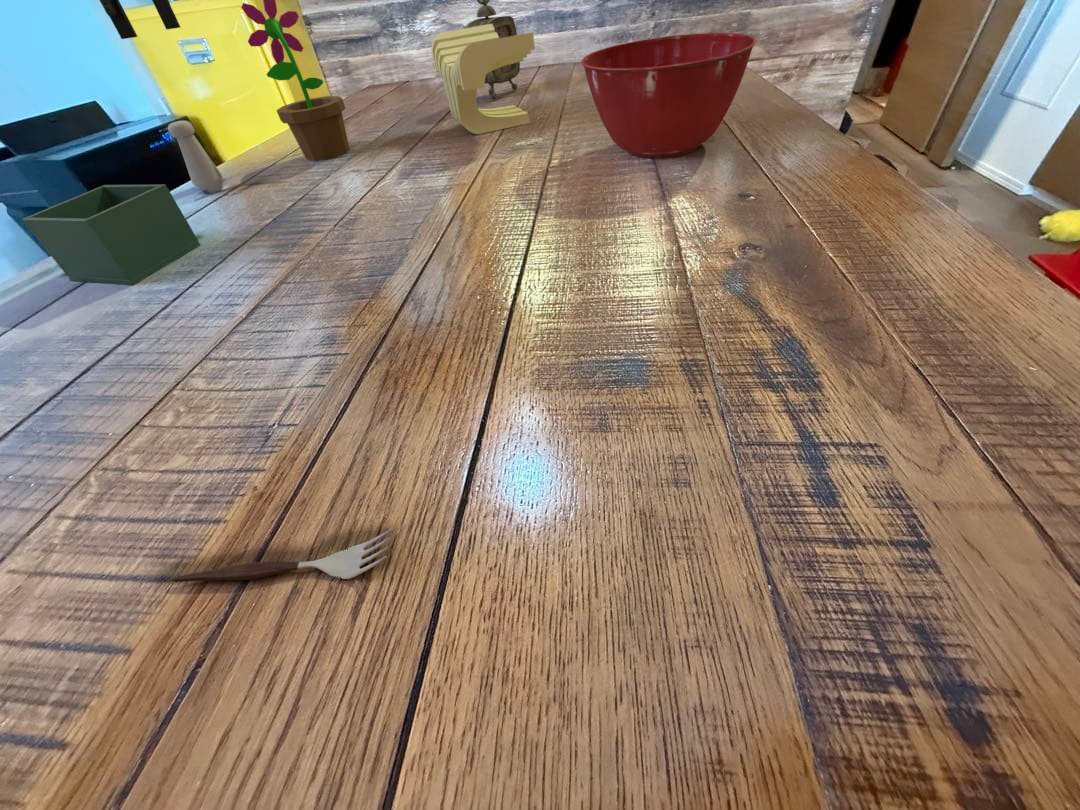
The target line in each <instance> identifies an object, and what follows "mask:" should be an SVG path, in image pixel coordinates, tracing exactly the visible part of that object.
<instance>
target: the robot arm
mask: <svg viewBox="0 0 1080 810" xmlns="http://www.w3.org/2000/svg"><path fill="white" fill-rule="evenodd" d="M151 1H152V3H153V5H154V7H155V9H156V11H157V13H158V16H159V17H160V19H161V21H162V24H163V26H164V28H165V30H167V31H168V30H173V29H179V28H181V25H180V23H179V20H178V18H177V17H176V14H175V12H174V10H173V8H172V5H171V3H170V0H151ZM99 2H100V3H101V6H102V8H103V10H104V11H105V13H106V14H107V16H108V17H109V18H110V20H111V22H112V24H113V26H114V28H115V30H116V31H117V33H118V35H119V37H120V39H121V40H125V39H126V40H127V39H134V38H138V34H137V33H136V31H135V29H134V27H133V25H132V23H131V21H130V19H129V17H128V15H127V14H126V11H125V10H124V8H123V6H122V4H121V2H120V0H99Z"/></svg>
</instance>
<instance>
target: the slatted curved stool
mask: <svg viewBox="0 0 1080 810" xmlns="http://www.w3.org/2000/svg"><path fill="white" fill-rule="evenodd" d="M534 37H535V36H534V31H531V32H527V33H520V34H517V35H515V36H510V37H504V38H499V36H498V34H497V32H495V29H494V27H493V25H492V24H487V25H482V26H476V27H471V28H465V29H464V28H460V29H454V30H449V31H443V32H441V33H438V34H437V35H436V36H435V37H434V38H433V40H432V43H431V47H430V48H431V50H430V53H431V57H432V62H433V66H434V71H435V73H439V75H440V77H441V80H443V86H444V89H445V93H446V97H447V101H448V106H449V111H450V113H451V115H452V117H453V118H454V119H455V121H456V122H458V123H459V124H460V125H461V126H462V127H463V128H464V129H465V130H467V131H468V132H470V133H472V134H475V135H482V134H486V133H492V132H496V131H500V130H506V129H509V128H514V127H518V126H523V125H528V124H531V120H530V115H529V113H528V111H525V110H523V109H522V108H520V107H518V106H517V105H515V104H512V105H511V104H510V105H507V106H500V107H491V108H479V107H478V104H477V93H478V89H482V88H485V84H486V83H485V77H486V74H487V73H489V72H491V71H493V70H495V69H497V68H500V67H503V66H506V65H509V64H513V63H517V62H520V63H521V62H524V59H526V58H528V55H530V54H532V51H533V50H536V46H535V38H534Z"/></svg>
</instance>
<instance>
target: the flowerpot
mask: <svg viewBox="0 0 1080 810" xmlns="http://www.w3.org/2000/svg"><path fill="white" fill-rule="evenodd" d="M262 3H263V9H264V11H265V13H266V15H267V16H268V18H266V16H265V15H264V14H263V11H261V10H260V9H258V8H257V7H256V6H254V5H253V4H250V3H249V4H248V3H245V2H242V5H241V9H242V10H243V12H244V13H245V15H246V16H247V18H249V19H250V20H251V21H253V22H254V23H255V24H257V25H263V26H264V29H256V30H255V31H253V32H252V33H250V35H249V37H248V40H247V43H248V44H249V46H250V47H262V46H263V45H265V44H266V43H268V40H269V38H271V39H272V40H271V43H270V50H271V56H272V58H273V60H274V61H275V63H276V64H273V65H272V66H271V67H270V69H269V70H268V71H267V73H266V76H267V77H268V78H270V79H272V80H273V79H274V80H277V81H289V80H291V79H292V78H293V77H294V76H296V78H297V80H298V83H299V85H300V88H301V91H302V94H303V96H304V99H302V100H297V101H294V102H291V103H288V104H285V105H282V106H281V107H278V108H277V109H276V114H277V115H278V118H279V121H280V122H281V123H282V124H287V126H288V128H289V130H290V131H291V133H292V135H293V137H294V139H295V141H296V143H297V145H298V147H299V149H300V150H301V152H302V154H303V156H304V158H305V159H306V160H307V161H312V162H317V161H325V160H330V159H334V158H338V157H341V156H343V155H344V154H347V153H348V152H349V150H350V144H349V139H348V135H347V131H346V126H345V121H344V117H343V112H344V110H346V109H347V108H346V105H345V103H344V99H343V97H341V96H339V95H326V96H325V95H324V96H320V97H319V96H318V97H312V98H311V97H310V95H309V92H308V90H312V91H313V90H316V89H319V88H321V86H323V84H324V80H323V79H321V78H318V77H307V78H305V79H303V76H302V73H301V71H300V69H299V66H298V64H297V60H296V59H295V57H294V55H293V52H292V51H295V52H300V53H302V52H303V50H304V46H303V45H302V44H301V42H300V40H299V39H298V38H296V37H295V36H294V35H293V34H291V33H289V32H288V33H286V32H284V29H283V28H285V29H289V28H291V27H293V26H294V25H296V24H297V22H298V19H299V17H300V16H299V14H298V12H297V11H294V10H293V11H292V10H288V11H286V12H284V13H283V14H281V15H280V16H279V20H277V18H276V16H277V13H278V9H277V2H276V0H262ZM284 50H285V51H284ZM285 52H286V54H287V57H288V59H289V61H290V62H288V61H284V59H285Z"/></svg>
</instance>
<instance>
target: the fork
mask: <svg viewBox="0 0 1080 810" xmlns="http://www.w3.org/2000/svg"><path fill="white" fill-rule="evenodd" d="M392 531H393V528H389V529H387V530H386V531H385V532H383V533H381V534H379V535H378V536H376V537H374V538H372V539H370V540H368V541H365V542H362V543H360V544H356V545H353V546H351V548H350V547H347V548H348V550H347V548H345V549H346V550H345V549H342V550H339V551H337V552H334V553H332V554H330V555H328V556H325V557H322V558H320V559H316V560H310V561H256V562H255V561H254V562H246V563H240V564H235V565H231V566H225V567H221V568H215V569H211V570H210V569H209V570H204V571H199V572H193V573H188V574H184V575H179V576H175V577H172V578H171V582H205V581H206V582H207V581H210V582H211V581H248V580H255V579H261V578H266V577H271V576H275V575H279V574H284V573H288V572H293V571H298V570H303V569H309V568H314V569H317V570H319V571H322V572H324V573H325V574H327V575H328V576H330V577H332V576H334V577H335V576H336V577H337V576H339V577H340V576H341V578H343V579H347V580H351V579H353V578H355V577H358V576H359V575H362V574H363V573H365V572H367V571H369V570H370V569H372V568H374V567H375V566H377V565H378V564H381V562H383V561H385V560H386V559H387V558H388V556H387V555H385V556H383V557H381V558H380V559H378V560H376V561H374V562H372V563H370V564H368V565H366V566H364V565H365V564H366V563H368V562H370V561H372V560H374V559H375V558H377V557H378V556H380V555H381V554H383V553H385V552H386V551H387V550H389V549H390V548H389V547H388V546H385V547H384V548H382V549H380V550H379V551H377V552H376V553H373V554H372V555H370V556H368V557H365V556H367V555H369V554H370V553H372V552H374V551H375V550H376V549H379V548H380V547H381V546H383V545H384V544H387V543H388V542H389V541H390V540H391V537H387V538H386V539H384V540H382V541H380V542H379V543H377V544H375V545H373V544H374V543H375V542H377V541H379V540H381V539H382V538H384V537H385V536H386V535H388V534H390V533H391V532H392ZM370 545H373V546H372V547H369V546H370ZM367 547H369V548H367ZM343 550H344V551H343ZM364 557H365V558H364ZM362 566H364V567H362ZM361 567H362V568H361ZM334 577H333V578H334ZM339 577H338V578H339Z"/></svg>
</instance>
